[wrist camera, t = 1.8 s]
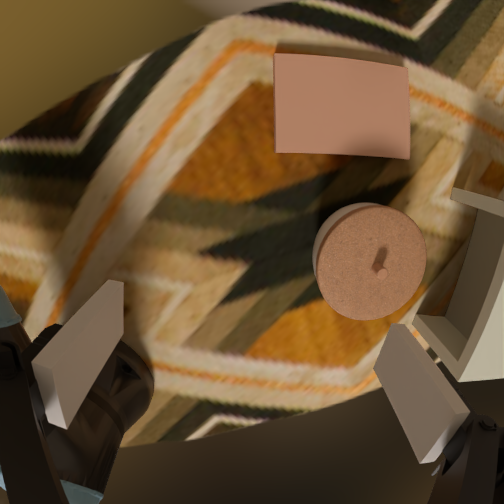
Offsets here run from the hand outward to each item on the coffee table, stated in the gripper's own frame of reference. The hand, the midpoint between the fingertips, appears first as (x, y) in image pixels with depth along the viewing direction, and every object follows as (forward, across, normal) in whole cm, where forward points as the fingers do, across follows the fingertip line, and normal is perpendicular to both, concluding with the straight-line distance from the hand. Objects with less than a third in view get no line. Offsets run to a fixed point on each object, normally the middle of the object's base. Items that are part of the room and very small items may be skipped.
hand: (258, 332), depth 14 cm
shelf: (+20, +28, 0) cm, 35 cm away
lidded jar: (+21, +11, 0) cm, 23 cm away
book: (+21, +7, +14) cm, 26 cm away
